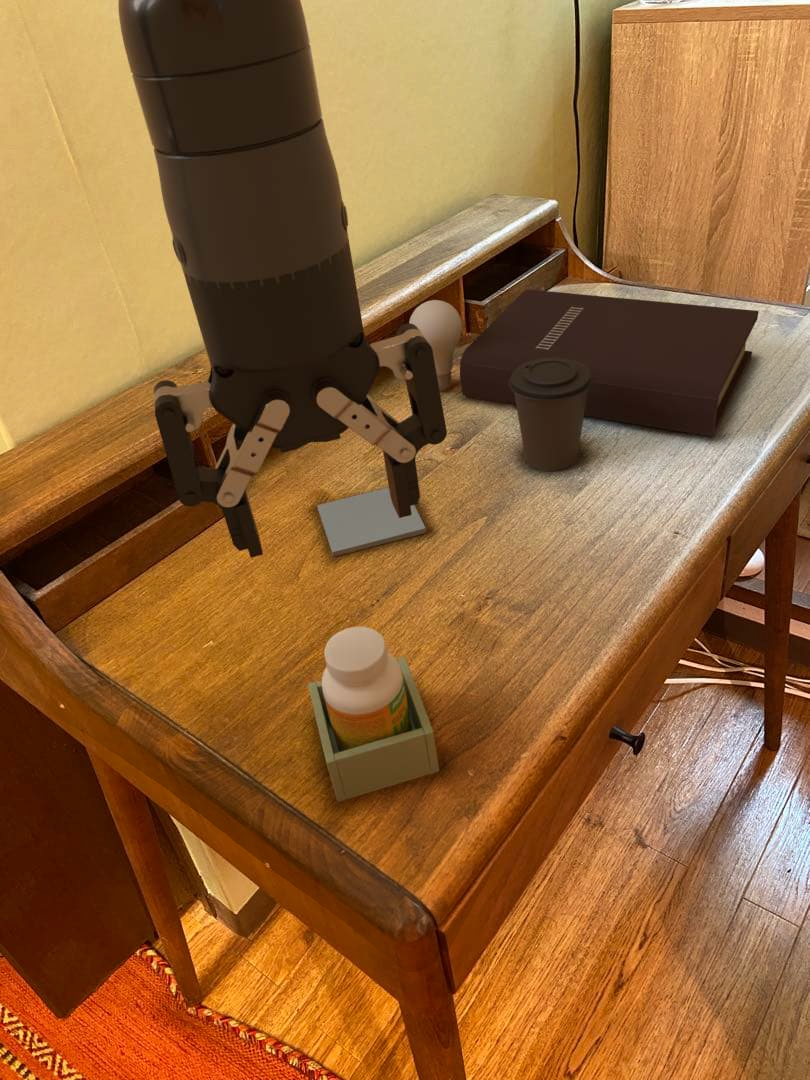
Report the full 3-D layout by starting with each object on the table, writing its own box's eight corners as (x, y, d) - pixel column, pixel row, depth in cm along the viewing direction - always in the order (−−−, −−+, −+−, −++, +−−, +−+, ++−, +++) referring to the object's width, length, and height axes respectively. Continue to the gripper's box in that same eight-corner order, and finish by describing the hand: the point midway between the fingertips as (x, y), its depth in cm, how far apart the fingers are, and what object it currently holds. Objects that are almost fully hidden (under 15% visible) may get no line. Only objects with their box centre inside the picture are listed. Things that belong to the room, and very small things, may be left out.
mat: (333, 557, 76) (332, 552, 76) (318, 509, 82) (317, 505, 82) (426, 532, 77) (425, 527, 77) (404, 488, 83) (403, 483, 83)
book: (461, 403, 95) (457, 356, 92) (526, 332, 108) (525, 289, 104) (710, 444, 83) (717, 392, 79) (751, 359, 96) (758, 310, 92)
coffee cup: (504, 442, 88) (500, 356, 82) (579, 431, 88) (581, 344, 82) (520, 484, 81) (516, 395, 75) (601, 472, 81) (604, 381, 75)
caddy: (337, 802, 55) (326, 763, 53) (318, 722, 61) (307, 683, 58) (439, 771, 56) (433, 731, 54) (411, 695, 62) (404, 655, 59)
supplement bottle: (413, 772, 56) (395, 676, 50) (335, 777, 56) (308, 682, 50) (414, 710, 60) (397, 615, 54) (341, 715, 61) (317, 621, 55)
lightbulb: (440, 373, 102) (432, 287, 95) (477, 386, 98) (471, 298, 91) (405, 393, 99) (394, 306, 92) (442, 407, 95) (433, 318, 88)
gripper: (396, 189, 40) (430, 464, 50) (104, 250, 38) (199, 523, 48) (441, 233, 34) (469, 534, 45) (99, 307, 33) (209, 604, 43)
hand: (328, 528), depth 46 cm, fingers open, 8 cm apart
